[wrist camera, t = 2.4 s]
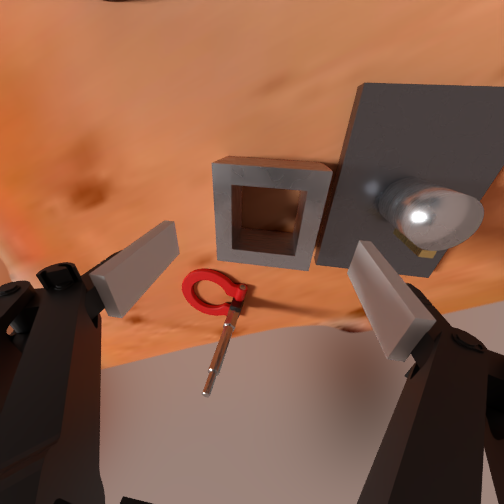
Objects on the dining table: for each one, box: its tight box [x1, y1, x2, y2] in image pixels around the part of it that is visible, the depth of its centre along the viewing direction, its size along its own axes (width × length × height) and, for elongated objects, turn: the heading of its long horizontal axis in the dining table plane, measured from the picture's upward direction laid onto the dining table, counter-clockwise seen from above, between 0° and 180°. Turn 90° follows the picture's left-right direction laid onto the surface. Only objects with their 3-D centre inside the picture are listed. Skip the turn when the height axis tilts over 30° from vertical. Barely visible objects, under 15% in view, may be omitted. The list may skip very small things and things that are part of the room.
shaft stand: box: [314, 83, 504, 278], centre depth 16 cm, size 16×12×7 cm
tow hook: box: [182, 269, 247, 397], centre depth 24 cm, size 8×13×9 cm
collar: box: [212, 156, 333, 271], centre depth 19 cm, size 9×9×5 cm
